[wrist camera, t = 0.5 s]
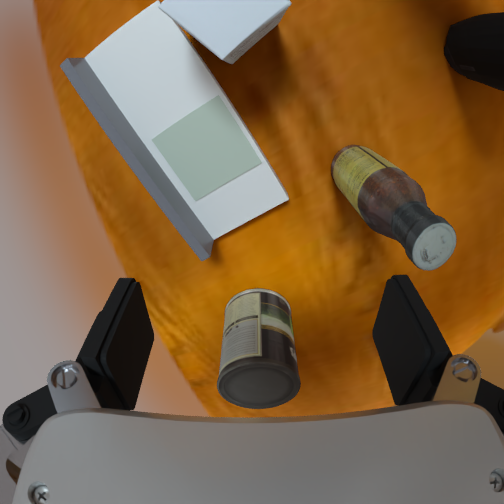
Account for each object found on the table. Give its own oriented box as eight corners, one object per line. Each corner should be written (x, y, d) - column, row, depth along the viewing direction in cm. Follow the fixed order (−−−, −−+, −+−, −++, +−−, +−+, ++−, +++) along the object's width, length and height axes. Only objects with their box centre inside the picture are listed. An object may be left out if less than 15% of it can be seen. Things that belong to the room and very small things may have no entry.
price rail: (84, 58, 28) (67, 58, 25) (213, 239, 40) (210, 256, 37) (76, 65, 28) (58, 66, 25) (204, 244, 41) (200, 262, 37)
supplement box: (185, 26, 29) (153, 5, 18) (234, -16, 26) (225, -56, 15) (231, 67, 31) (221, 62, 21) (280, 25, 29) (294, 1, 18)
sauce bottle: (329, 191, 39) (383, 289, 22) (329, 142, 36) (395, 211, 19) (377, 189, 39) (455, 281, 22) (380, 142, 36) (473, 208, 19)
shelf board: (162, 3, 27) (157, -1, 25) (287, 193, 39) (289, 199, 37) (83, 65, 30) (75, 65, 28) (206, 237, 43) (204, 245, 41)
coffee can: (295, 288, 47) (307, 363, 35) (286, 337, 52) (294, 409, 40) (224, 285, 47) (215, 361, 35) (224, 335, 52) (218, 407, 40)
